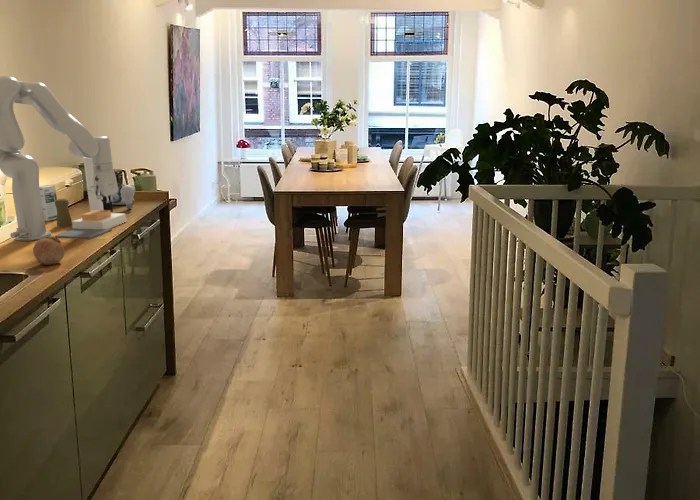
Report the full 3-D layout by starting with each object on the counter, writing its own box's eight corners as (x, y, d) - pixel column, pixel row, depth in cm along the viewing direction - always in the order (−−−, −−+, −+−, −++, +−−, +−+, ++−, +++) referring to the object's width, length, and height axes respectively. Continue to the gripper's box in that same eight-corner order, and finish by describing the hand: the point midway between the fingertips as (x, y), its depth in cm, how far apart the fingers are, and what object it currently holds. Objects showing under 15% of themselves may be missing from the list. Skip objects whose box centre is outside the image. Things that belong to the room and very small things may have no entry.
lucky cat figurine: (136, 204, 335) (122, 180, 326) (113, 216, 333) (97, 193, 324) (130, 190, 346) (116, 167, 338) (107, 202, 344) (92, 179, 336)
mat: (91, 238, 271) (91, 237, 271) (55, 237, 276) (54, 235, 276) (111, 230, 283) (111, 229, 283) (76, 229, 288) (76, 227, 288)
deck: (103, 230, 283) (102, 222, 282) (72, 229, 287) (71, 221, 286) (126, 221, 298) (125, 213, 297) (97, 221, 302) (96, 212, 301)
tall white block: (104, 215, 313) (97, 157, 306) (88, 216, 313) (80, 158, 307) (110, 212, 320) (103, 155, 313) (94, 212, 320) (86, 156, 314)
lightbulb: (119, 210, 323) (116, 185, 320) (129, 207, 328) (126, 183, 325) (129, 211, 320) (126, 186, 317) (139, 208, 325) (136, 184, 323)
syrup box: (47, 221, 306) (42, 187, 302) (40, 219, 309) (35, 186, 306) (60, 218, 310) (55, 185, 306) (52, 217, 314) (47, 184, 310)
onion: (62, 269, 242) (73, 241, 242) (52, 270, 233) (62, 240, 233) (35, 260, 242) (46, 232, 242) (23, 260, 233) (34, 230, 233)
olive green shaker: (67, 227, 293) (63, 200, 290) (54, 227, 294) (50, 200, 291) (75, 223, 299) (72, 197, 296) (62, 223, 300) (58, 197, 297)
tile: (97, 220, 285) (96, 214, 285) (82, 220, 287) (81, 214, 287) (111, 215, 294) (110, 210, 293) (96, 215, 296) (95, 209, 295)
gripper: (100, 170, 285) (105, 215, 290) (121, 164, 299) (126, 208, 304) (83, 170, 287) (89, 215, 292) (105, 164, 301) (111, 208, 306)
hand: (108, 211), depth 298 cm, fingers closed
